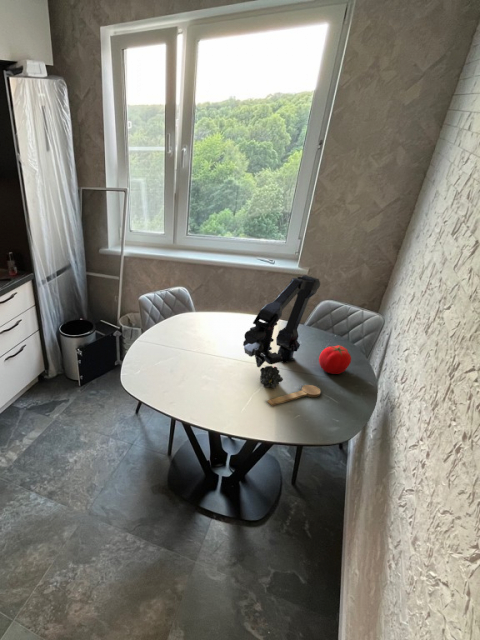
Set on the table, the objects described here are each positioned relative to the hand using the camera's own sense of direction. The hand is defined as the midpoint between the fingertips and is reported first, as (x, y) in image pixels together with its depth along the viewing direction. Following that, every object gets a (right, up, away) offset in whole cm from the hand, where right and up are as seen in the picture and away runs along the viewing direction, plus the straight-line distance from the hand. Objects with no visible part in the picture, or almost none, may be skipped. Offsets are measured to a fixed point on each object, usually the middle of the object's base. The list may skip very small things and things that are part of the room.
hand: (258, 366), depth 178 cm
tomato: (+33, -1, +1) cm, 33 cm away
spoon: (+8, -13, -15) cm, 21 cm away
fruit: (+3, -7, -5) cm, 9 cm away
